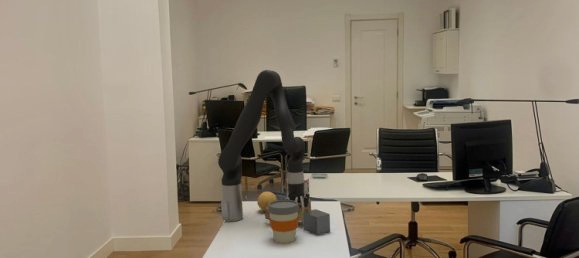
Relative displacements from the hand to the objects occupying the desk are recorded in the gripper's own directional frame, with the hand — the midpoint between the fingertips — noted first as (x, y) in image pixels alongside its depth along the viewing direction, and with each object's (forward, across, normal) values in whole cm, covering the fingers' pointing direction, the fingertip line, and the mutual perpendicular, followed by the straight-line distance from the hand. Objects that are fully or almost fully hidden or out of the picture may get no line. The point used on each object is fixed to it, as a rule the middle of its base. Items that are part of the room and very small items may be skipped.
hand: (297, 217), depth 213 cm
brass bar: (0, 0, +3) cm, 3 cm away
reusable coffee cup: (+3, +16, +13) cm, 21 cm away
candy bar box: (+3, -11, -14) cm, 18 cm away
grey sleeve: (+3, 0, +14) cm, 14 cm away
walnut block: (+3, 0, -7) cm, 7 cm away
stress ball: (+3, 0, -25) cm, 25 cm away
